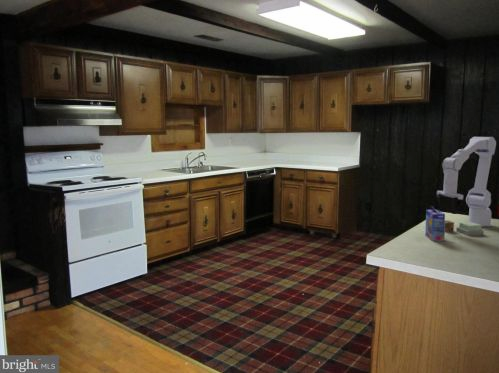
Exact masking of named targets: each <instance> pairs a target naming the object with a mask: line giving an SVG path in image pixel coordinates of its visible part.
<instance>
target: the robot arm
mask: <svg viewBox="0 0 499 373" xmlns="http://www.w3.org/2000/svg"><path fill="white" fill-rule="evenodd" d="M496 146H497V141H496V138H495V137H493V136H473V137H471V138H470V139H469V142H468V144H467V145H466V146H465V147H464V148H461V149H459V148H458V150H457V151H456V152H455V153H453V154H452V155H451V156H450V157H446V158H444V160H442V164H441V166H442V170H443V171H442V172H443V174H444V176H443V189H442V190H437V191H436V196H435V197H436V200H437V202H438V206H439V211H440V212H442V211H443V212H444V211H446V208H447V207H446V206H447V201H448V198H450V202H451V203H450V204H451V214H453V215H455V214H456V215H457V213H458V210H459V208H460V207H461V205H462V203H463V202H464V194H461V193H458V192H457V191H458V183H459V182H458V179H459V171H460V170H461V169H462V166H463V164H464V163H465V162H466V161H467V160H468V159H469V158H470V155H471V154H472V153H475V154H477V155H478V157H479V159H478V164H477V169H476V176H475V181H474V186H473V188H471V189H469V190H468V193H467V195H466V198H465V202H466V205H467V207H468V208H469V212H468V222H473V223H477V224H480V225H482V227H492V210H491V208H489V207H490V205H491V203H492V198H491V196H492V193H491V192H490V191H489V190H488V189H487V185H488V178H489V174H490V169H491V163H492V159H493V157H492V156H494V155H495V151H496Z"/></svg>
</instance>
